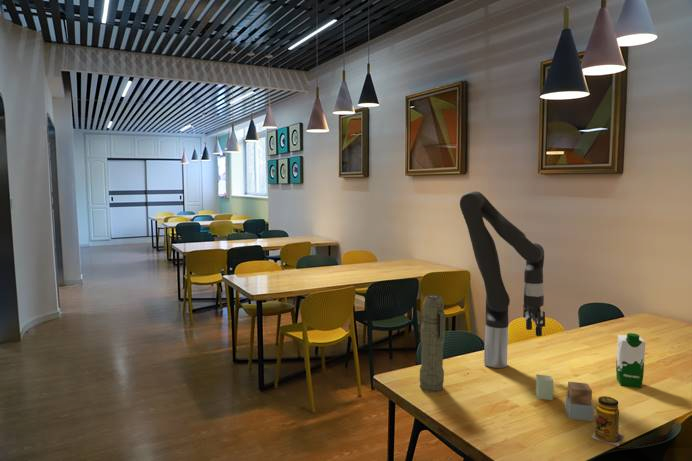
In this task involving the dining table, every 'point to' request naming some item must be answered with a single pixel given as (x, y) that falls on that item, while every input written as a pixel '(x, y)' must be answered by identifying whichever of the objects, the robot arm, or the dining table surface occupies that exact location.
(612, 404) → the condiment
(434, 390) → the thermos
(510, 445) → the dining table surface
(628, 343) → the milk carton
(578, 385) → the tower top
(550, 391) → the green block
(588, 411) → the tower base
